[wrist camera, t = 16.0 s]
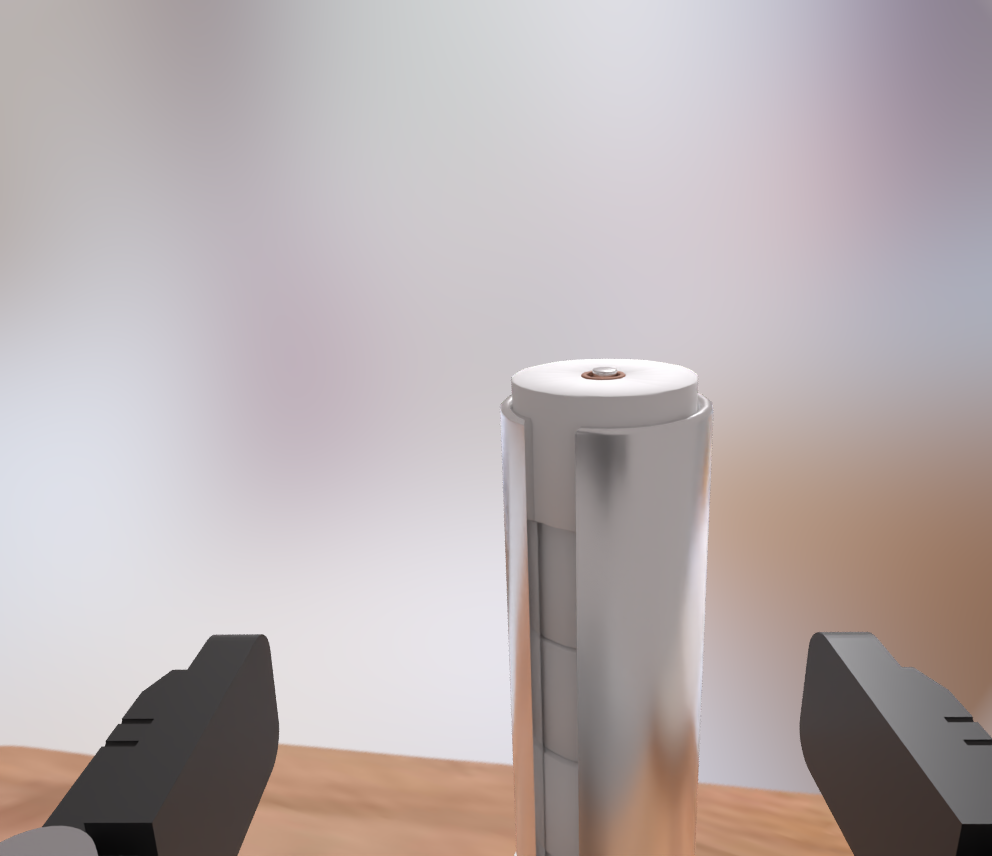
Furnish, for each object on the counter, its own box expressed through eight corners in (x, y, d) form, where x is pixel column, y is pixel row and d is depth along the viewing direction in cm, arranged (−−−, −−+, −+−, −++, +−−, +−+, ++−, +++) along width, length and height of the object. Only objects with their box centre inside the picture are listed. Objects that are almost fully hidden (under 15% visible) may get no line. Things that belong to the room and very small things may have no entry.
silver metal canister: (725, 1037, 28) (764, 375, 21) (570, 1121, 26) (559, 404, 19) (629, 899, 34) (636, 344, 27) (495, 956, 31) (467, 363, 25)
